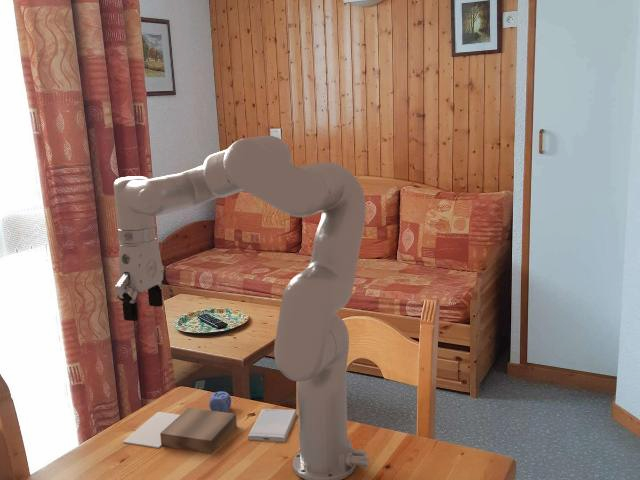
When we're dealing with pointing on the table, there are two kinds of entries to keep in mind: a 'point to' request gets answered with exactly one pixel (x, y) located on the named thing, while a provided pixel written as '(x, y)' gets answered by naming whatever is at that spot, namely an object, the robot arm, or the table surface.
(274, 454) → the table surface
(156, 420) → the mat
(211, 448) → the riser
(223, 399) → the decorative dice
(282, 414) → the hard drive
